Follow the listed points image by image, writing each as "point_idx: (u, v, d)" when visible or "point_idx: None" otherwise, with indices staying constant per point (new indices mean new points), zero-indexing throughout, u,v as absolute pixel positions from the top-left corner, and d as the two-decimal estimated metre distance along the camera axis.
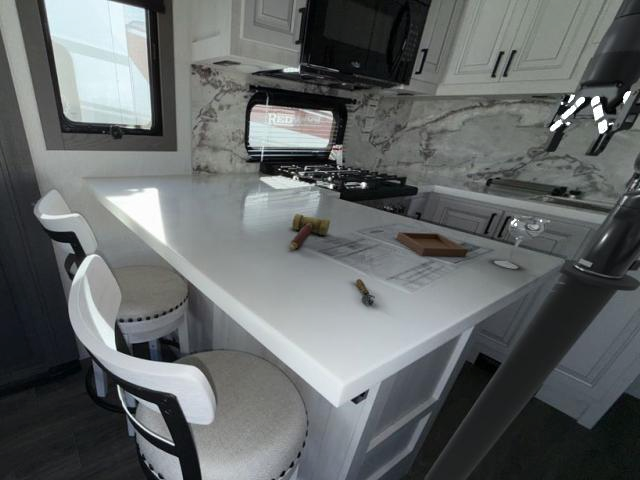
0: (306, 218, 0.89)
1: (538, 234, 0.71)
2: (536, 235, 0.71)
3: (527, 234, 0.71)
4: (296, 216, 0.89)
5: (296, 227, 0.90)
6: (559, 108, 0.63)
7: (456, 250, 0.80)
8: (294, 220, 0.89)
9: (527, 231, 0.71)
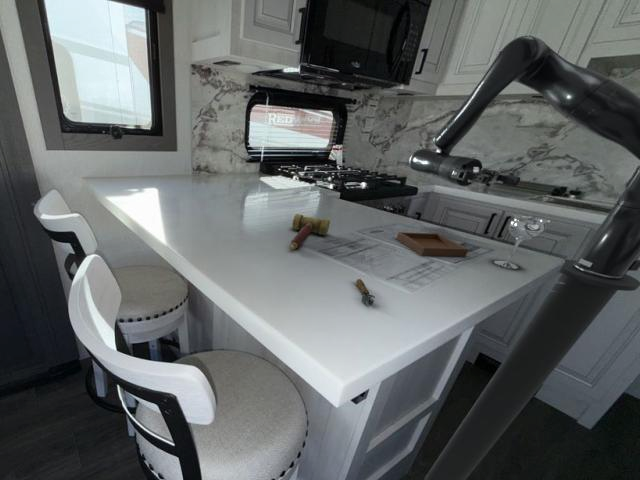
0: (306, 218, 0.89)
1: (538, 234, 0.71)
2: (536, 235, 0.71)
3: (527, 234, 0.71)
4: (296, 216, 0.89)
5: (296, 227, 0.90)
6: None
7: (456, 250, 0.80)
8: (294, 220, 0.89)
9: (527, 231, 0.71)
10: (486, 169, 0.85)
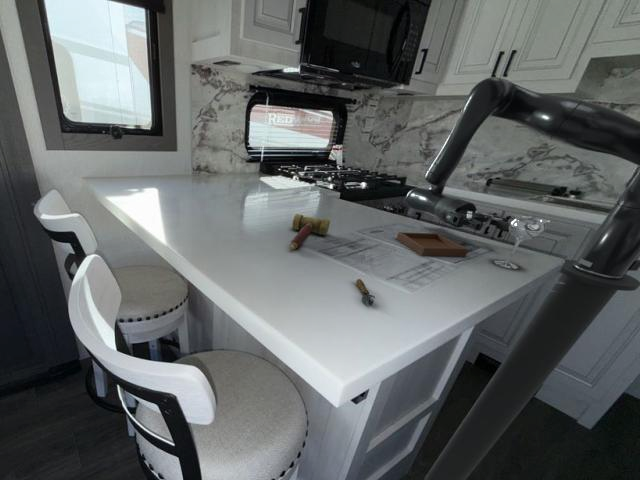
0: (306, 218, 0.89)
1: (538, 234, 0.71)
2: (536, 235, 0.71)
3: (527, 234, 0.71)
4: (296, 216, 0.89)
5: (296, 227, 0.90)
6: (490, 223, 0.89)
7: (456, 250, 0.80)
8: (294, 220, 0.89)
9: (527, 231, 0.71)
10: (479, 213, 0.87)
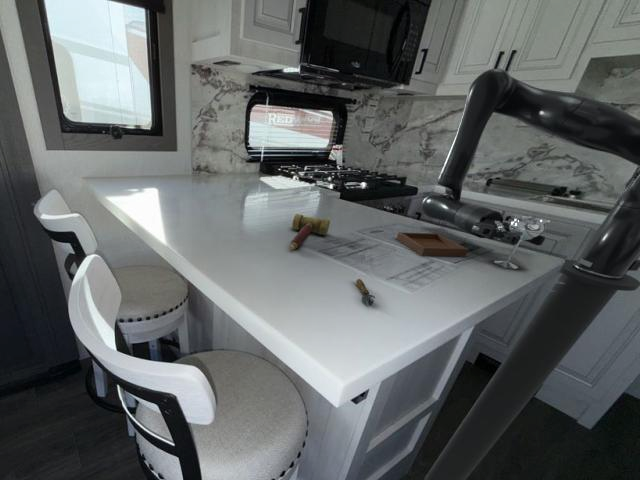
0: (306, 218, 0.89)
1: (538, 234, 0.71)
2: (536, 235, 0.71)
3: (527, 234, 0.71)
4: (296, 216, 0.89)
5: (296, 227, 0.90)
6: None
7: (456, 250, 0.80)
8: (294, 220, 0.89)
9: (527, 231, 0.71)
10: (507, 223, 0.79)
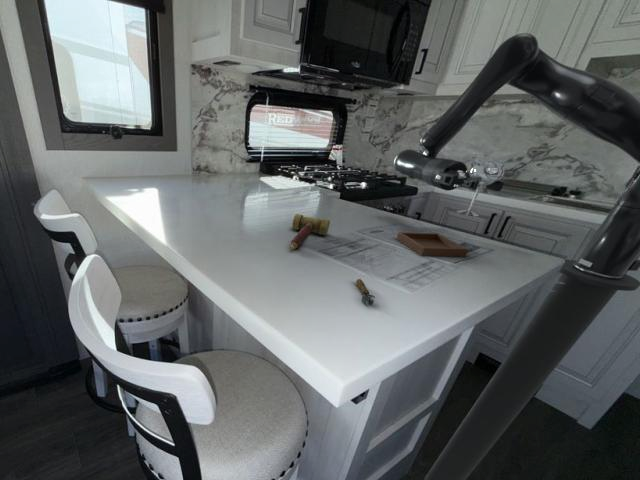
0: (306, 218, 0.89)
1: (496, 178, 0.71)
2: (494, 179, 0.71)
3: (486, 178, 0.71)
4: (296, 216, 0.89)
5: (296, 227, 0.90)
6: None
7: (456, 250, 0.80)
8: (294, 220, 0.89)
9: (485, 175, 0.71)
10: (469, 172, 0.79)
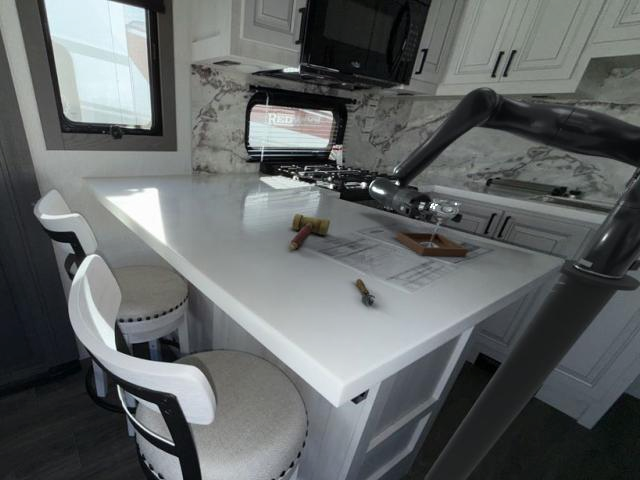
0: (306, 218, 0.89)
1: (451, 216, 0.79)
2: (450, 217, 0.79)
3: (442, 215, 0.79)
4: (296, 216, 0.89)
5: (296, 227, 0.90)
6: None
7: (456, 250, 0.80)
8: (294, 220, 0.89)
9: (442, 213, 0.79)
10: None
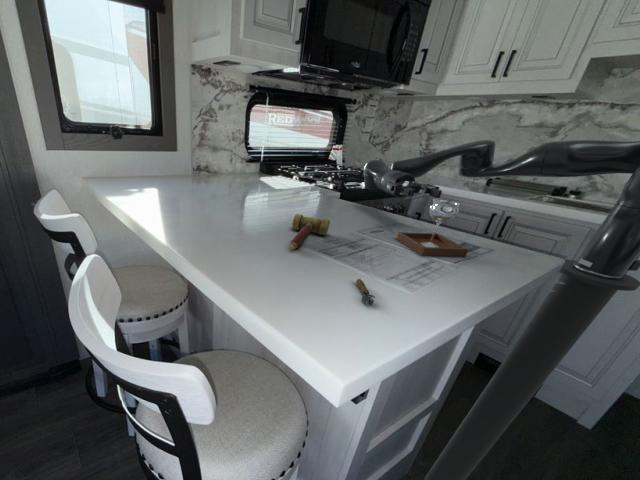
0: (306, 218, 0.89)
1: (451, 216, 0.79)
2: (450, 217, 0.79)
3: (442, 215, 0.79)
4: (296, 216, 0.89)
5: (296, 227, 0.90)
6: (426, 192, 0.97)
7: (456, 250, 0.80)
8: (294, 220, 0.89)
9: (441, 213, 0.79)
10: (416, 183, 0.95)
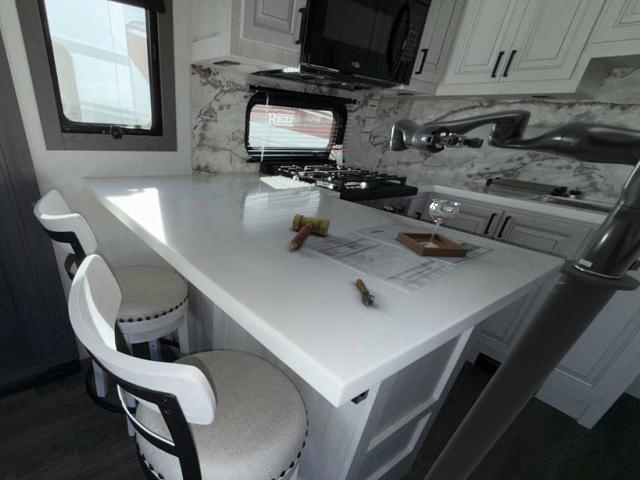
0: (306, 218, 0.89)
1: (451, 216, 0.79)
2: (450, 217, 0.79)
3: (442, 215, 0.79)
4: (296, 216, 0.89)
5: (296, 227, 0.90)
6: None
7: (456, 250, 0.80)
8: (294, 220, 0.89)
9: (441, 213, 0.79)
10: (453, 134, 0.89)
